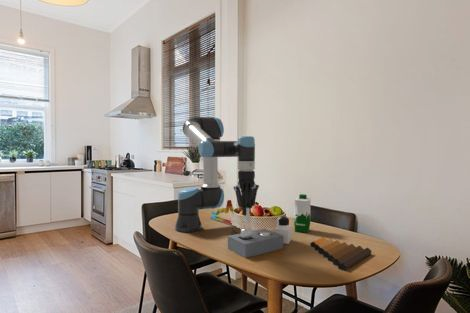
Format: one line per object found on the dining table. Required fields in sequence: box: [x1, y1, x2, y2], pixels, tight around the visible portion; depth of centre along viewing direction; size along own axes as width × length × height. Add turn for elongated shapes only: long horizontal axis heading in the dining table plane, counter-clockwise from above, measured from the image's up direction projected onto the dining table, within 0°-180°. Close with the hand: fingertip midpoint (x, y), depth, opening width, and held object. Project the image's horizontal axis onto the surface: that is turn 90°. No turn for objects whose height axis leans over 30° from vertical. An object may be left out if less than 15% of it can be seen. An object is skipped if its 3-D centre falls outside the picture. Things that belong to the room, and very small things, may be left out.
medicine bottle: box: [274, 216, 292, 245], centre depth 151 cm, size 7×7×12 cm
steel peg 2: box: [260, 232, 270, 236], centre depth 144 cm, size 5×5×5 cm
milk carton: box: [293, 193, 311, 233], centre depth 170 cm, size 9×9×20 cm
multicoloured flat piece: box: [210, 199, 235, 227], centre depth 186 cm, size 30×3×15 cm, turn 40°
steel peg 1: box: [240, 227, 253, 240], centre depth 137 cm, size 5×5×5 cm
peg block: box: [227, 228, 284, 259], centre depth 141 cm, size 14×22×6 cm, turn 124°
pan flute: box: [309, 236, 373, 272], centre depth 133 cm, size 25×3×25 cm
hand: (246, 222), depth 137 cm, fingers closed
